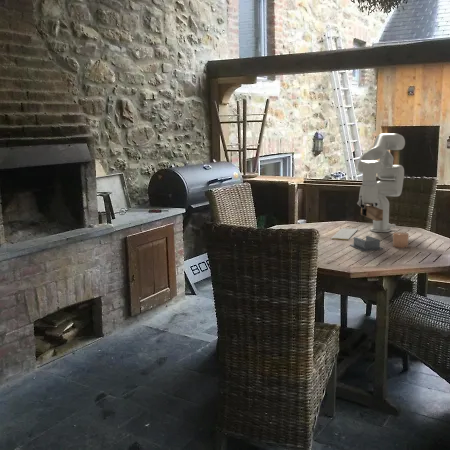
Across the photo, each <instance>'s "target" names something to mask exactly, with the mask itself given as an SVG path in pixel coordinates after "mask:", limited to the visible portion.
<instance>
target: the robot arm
mask: <svg viewBox="0 0 450 450" xmlns="http://www.w3.org/2000/svg"><path fill="white" fill-rule="evenodd" d="M405 145H406V139H405V137H404V136H403V135H402V134H399V133H394V132H393V133H390V132H389V133H380V134H378V135H377V136H376V138H375V141H374V143H373V146H372V148H370V149H369V150H366V151H364V153H363V154H362V155H361V156H360V158H359V161H358V164H357V169H358V172H359V173H361V174H362V180H361V182H362V183H361V186H360V188H359V193H358V194H359V195H358V201H357V202H356V204H357V205H358V206H359V207H360V209H361V208H362V214H363V215H364V216H363V215H362V216H363V217H365V216H366V205H367V204H368V205H371V206H374V207H377V208H380V209H382V210H383V220H382V221H375V220H373V219H372V227H370V229H369V230H370V231H371V232H374V233H388V232H391V231H392V228H395V227H396V223H392V224H391V223H389V222H390V221H389V220H390V201H389V199H388V198H387V197H400V196H401V195H402V191H403V185H404V178H405V168H404V166H403V165H402V164H394V158H395V157H394V156H393V155H392V153H391V152H390V151H401V150H403V149H404V148H405ZM377 178H378V179H380V180H377Z"/></svg>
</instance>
